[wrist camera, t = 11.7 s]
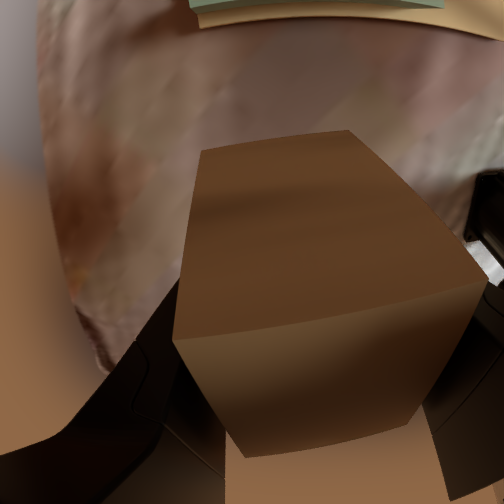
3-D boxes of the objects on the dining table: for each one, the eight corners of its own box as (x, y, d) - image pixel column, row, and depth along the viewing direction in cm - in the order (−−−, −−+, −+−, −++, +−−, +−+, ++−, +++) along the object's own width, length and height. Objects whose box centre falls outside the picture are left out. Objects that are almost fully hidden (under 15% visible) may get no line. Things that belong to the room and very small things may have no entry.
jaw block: (346, 268, 11) (406, 424, 6) (234, 287, 11) (244, 457, 6) (348, 130, 8) (488, 278, 3) (201, 150, 8) (171, 340, 3)
